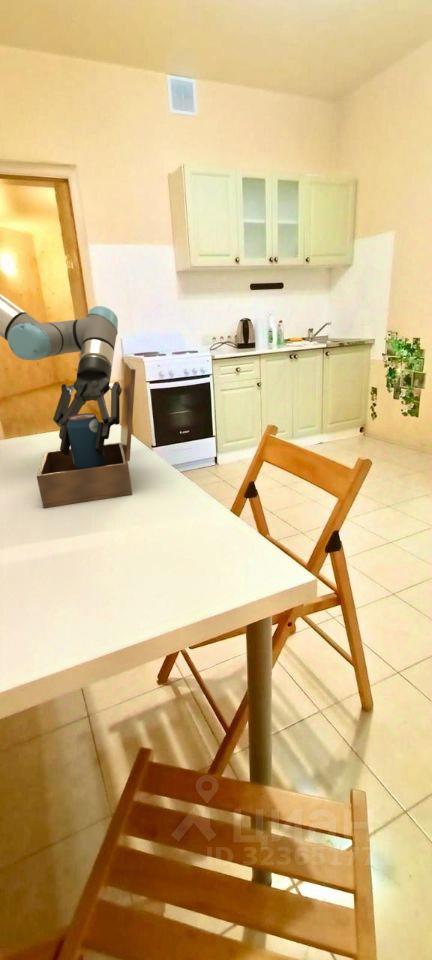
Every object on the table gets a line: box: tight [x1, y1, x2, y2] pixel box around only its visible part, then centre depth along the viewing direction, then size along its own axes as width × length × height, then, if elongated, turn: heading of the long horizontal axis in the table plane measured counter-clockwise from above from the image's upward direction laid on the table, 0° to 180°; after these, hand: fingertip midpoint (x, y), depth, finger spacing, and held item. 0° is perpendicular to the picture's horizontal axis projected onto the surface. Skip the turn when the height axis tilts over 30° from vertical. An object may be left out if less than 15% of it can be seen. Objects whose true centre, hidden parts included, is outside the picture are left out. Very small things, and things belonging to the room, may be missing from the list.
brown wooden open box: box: [36, 441, 133, 509], centre depth 98 cm, size 18×18×7 cm
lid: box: [120, 361, 136, 462], centre depth 95 cm, size 18×18×1 cm
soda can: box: [67, 412, 106, 470], centre depth 98 cm, size 7×7×12 cm
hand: (81, 451), depth 96 cm, fingers closed on soda can, 7 cm apart
